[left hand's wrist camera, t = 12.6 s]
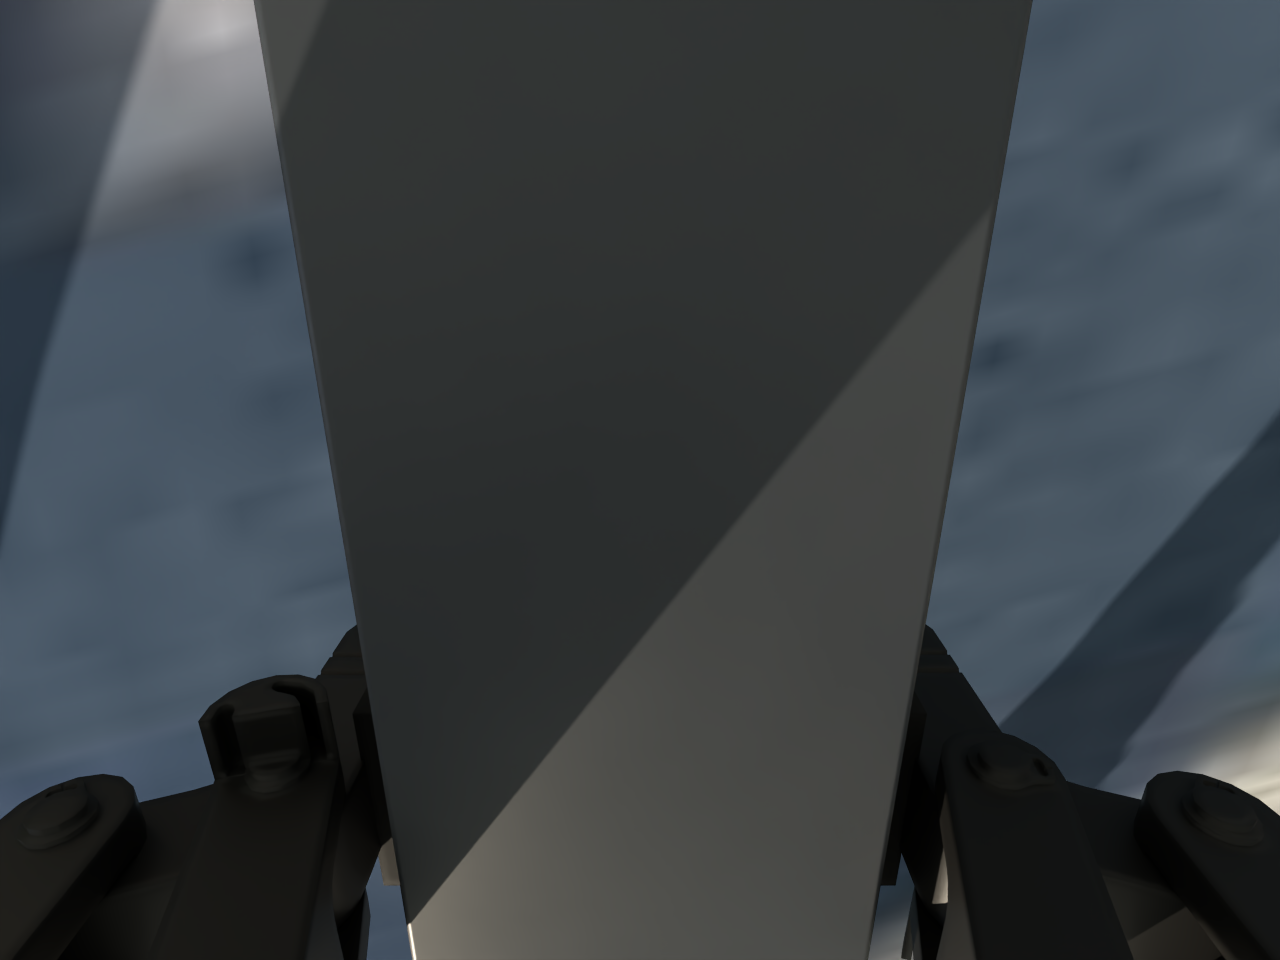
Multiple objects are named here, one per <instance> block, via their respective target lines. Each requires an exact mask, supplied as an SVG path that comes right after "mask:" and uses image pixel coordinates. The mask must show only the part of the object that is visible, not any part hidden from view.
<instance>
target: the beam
mask: <svg viewBox="0 0 1280 960" xmlns="http://www.w3.org/2000/svg"><path fill="white" fill-rule="evenodd" d="M1032 1H1033V0H254V5H255V11H256V17H257V23H258V29H259V35H260V41H261V47H262V53H263V59H264V66H265V72H266V78H267V84H268V90H269V96H270V102H271V108H272V114H273V120H274V126H275V132H276V138H277V144H278V150H279V156H280V162H281V168H282V174H283V180H284V186H285V192H286V198H287V205H288V211H289V217H290V223H291V229H292V235H293V241H294V247H295V253H296V259H297V265H298V271H299V277H300V283H301V289H302V295H303V301H304V307H305V313H306V319H307V325H308V331H309V337H310V344H311V350H312V356H313V362H314V368H315V374H316V380H317V386H318V392H319V398H320V404H321V410H322V416H323V422H324V428H325V434H326V440H327V446H328V452H329V458H330V464H331V470H332V477H333V483H334V489H335V495H336V501H337V507H338V513H339V519H340V525H341V531H342V537H343V543H344V549H345V555H346V561H347V567H348V573H349V579H350V585H351V591H352V597H353V603H354V609H355V616H356V622H357V628H358V634H359V640H360V646H361V652H362V658H363V664H364V670H365V676H366V682H367V688H368V694H369V700H370V706H371V712H372V718H373V724H374V730H375V736H376V742H377V749H378V755H379V761H380V767H381V773H382V779H383V785H384V791H385V797H386V803H387V809H388V815H389V821H390V827H391V833H392V839H393V845H394V851H395V857H396V863H397V869H398V875H399V881H400V888H401V894H402V900H403V906H404V912H405V918H406V924H407V930H408V936H409V942H410V948H411V954H412V960H868V955H869V949H870V944H871V938H872V932H873V926H874V920H875V914H876V909H877V903H878V897H879V891H880V885H881V880H882V874H883V868H884V862H885V856H886V850H887V845H888V839H889V833H890V827H891V821H892V816H893V810H894V804H895V798H896V792H897V786H898V781H899V775H900V769H901V763H902V757H903V752H904V746H905V740H906V734H907V728H908V722H909V717H910V711H911V705H912V699H913V693H914V687H915V682H916V676H917V670H918V664H919V658H920V653H921V647H922V641H923V635H924V629H925V623H926V618H927V612H928V606H929V600H930V594H931V589H932V583H933V577H934V571H935V565H936V559H937V554H938V548H939V542H940V536H941V530H942V525H943V519H944V513H945V507H946V501H947V495H948V490H949V484H950V478H951V472H952V466H953V460H954V455H955V449H956V443H957V437H958V431H959V426H960V420H961V414H962V408H963V402H964V396H965V391H966V385H967V379H968V373H969V367H970V362H971V356H972V350H973V344H974V338H975V332H976V327H977V321H978V315H979V309H980V303H981V297H982V292H983V286H984V280H985V274H986V268H987V263H988V257H989V251H990V245H991V239H992V233H993V228H994V222H995V216H996V210H997V204H998V199H999V193H1000V187H1001V181H1002V175H1003V169H1004V164H1005V158H1006V152H1007V146H1008V140H1009V135H1010V129H1011V123H1012V117H1013V111H1014V105H1015V100H1016V94H1017V88H1018V82H1019V76H1020V70H1021V65H1022V59H1023V53H1024V47H1025V41H1026V36H1027V30H1028V24H1029V18H1030V12H1031V6H1032Z"/></svg>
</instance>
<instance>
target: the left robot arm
mask: <svg viewBox="0 0 1280 960" xmlns="http://www.w3.org/2000/svg"><path fill="white" fill-rule="evenodd" d="M198 723H199V726H200V730H201V733H202V737H203V740H204V744H205V747H206V751H207V754H208V758H209V761H210V765H211V768H212V772H213V775H214V779H215V781H214V784H212V785H208V786H205V787H202V788H199V789H195V790H191V791H187V792H183V793H179V794H174V795H170V796H166V797H161V798H157V799H153V800H149V801H144V802H140V803H139V802H138V799H137V796H136V793H135V790H134V787H133V786H132V785H131V784H130V783H129V782H128V781H127V780H125V779H124V778H123V777H119V776H113V775H107V774H99V775H92V776H85V777H78V778H75V779H72V780H69V781H66V782H63V783H60V784H58V785H55V786H52V787H49V788H47V789H45V790H44V791H42V792H40V793H38V794H36V795H34V796H33V797H31V798H29V799H27V800H25V801H23V802H22V803H20V804H19V805H18V806H17V807H15V808H14V809H13V810H12V811H10V812H9V813H8V814H7V815H5V816H4V817H3V818H2V819H0V960H366V958H367V947H368V937H369V926H370V909H369V903H368V897H367V892H366V885H367V882H368V880H369V877H370V875H371V872H372V870H373V867H374V865H375V862H376V859H377V857H378V856H379V861H380V867H381V872H382V877H383V883H384V885H400V881H399V875H398V869H397V863H396V857H395V851H394V845H393V839H392V833H391V827H390V821H389V815H388V809H387V803H386V797H385V791H384V785H383V779H382V773H381V767H380V761H379V755H378V749H377V742H376V736H375V730H374V724H373V718H372V712H371V706H370V700H369V694H368V688H367V682H366V676H365V670H364V664H363V658H362V652H361V646H360V640H359V634H358V628H357V625H356V626H354V627H353V628H352V629H350V630H349V631H347V632H346V634H345V635H344V637H343V638H342V640H341V641H340V643H339V644H338V646H337V647H336V649H335V650H334V652H333V657H330V658H329V659H328V661H327V662H326V664H325V665H324V667H323V668H322V670H321V675H318V676H317V677H316V679H314V678H310V677H306V676H302V675H276V676H272V677H268V678H264V679H260V680H256V681H252V682H250V683H247V684H245V685H243V686H241V687H239V688H236V689H234V690H232V691H230V692H228V693H227V694H225V695H224V696H223V697H221V698H220V699H219V700H217V701H216V702H215V703H213V704H212V705H210V706H209V708H208V709H207V710H206V712H205V713H204V714H203V716H202V717H201V718H200V720H199V721H198ZM901 853H902V855H903V857H904V860H905V862H906V865H907V868H908V870H909V873H910V875H911V878H912V880H913V883H914V885H915V887H914V892H913V897H912V902H911V907H910V912H909V917H908V922H907V927H906V932H905V937H904V942H903V949H902V956H901V958H903V959H907V960H911V956H912V951H913V956H914V960H1280V816H1279V815H1278V814H1277V813H1276V812H1274V811H1273V810H1272V809H1271V808H1269V807H1268V806H1267V805H1266V804H1264V803H1263V802H1262V801H1260V800H1259V799H1257V798H1256V797H1254V796H1252V795H1250V794H1248V793H1246V792H1245V791H1243V790H1241V789H1239V788H1237V787H1235V786H1234V785H1232V784H1229V783H1226V782H1223V781H1221V780H1217V779H1215V778H1212V777H1209V776H1206V775H1203V774H1196V773H1189V772H1182V771H1173V772H1167V773H1160V774H1157V775H1156V776H1155V777H1154V778H1153V779H1151V780H1150V781H1149V782H1148V783H1147V785H1146V788H1145V791H1144V793H1143V796H1142V799H1141V800H1140V799H1136V798H1131V797H1127V796H1123V795H1118V794H1114V793H1110V792H1105V791H1101V790H1097V789H1092V788H1088V787H1084V786H1081V785H1078V784H1074V783H1071V782H1068V781H1066V780H1065V778H1064V776H1063V775H1062V773H1061V772H1060V770H1059V769H1058V767H1057V766H1056V764H1055V763H1054V762H1053V761H1052V760H1051V759H1050V758H1048V757H1047V756H1046V755H1045V754H1044V753H1043V752H1041V751H1040V750H1039V749H1038V748H1037V747H1035V746H1033V745H1031V744H1029V743H1027V742H1025V741H1023V740H1021V739H1019V738H1017V737H1015V736H1012V735H1008V734H1005V733H1002V732H1001V730H1000V729H999V728H998V726H997V725H996V723H995V722H994V720H993V719H992V717H991V716H990V714H989V713H988V711H987V710H986V708H985V707H984V705H983V704H982V702H981V701H980V699H979V698H978V696H977V695H976V693H975V692H974V690H973V689H972V687H971V686H970V684H969V683H968V681H967V680H966V678H965V677H964V675H963V674H962V673H959V668H958V666H957V665H956V663H955V662H954V660H953V659H952V657H951V656H950V655H947V650H946V648H945V647H944V645H943V644H942V642H941V641H940V640H939V638H938V637H937V635H936V634H935V632H934V631H933V629H931V628H930V627H929V626H927V625H926V624H925V629H924V635H923V641H922V647H921V653H920V658H919V664H918V670H917V676H916V682H915V687H914V693H913V699H912V705H911V711H910V717H909V722H908V728H907V734H906V740H905V746H904V752H903V757H902V763H901V769H900V775H899V781H898V786H897V792H896V798H895V804H894V810H893V816H892V821H891V827H890V833H889V839H888V845H887V850H886V856H885V862H884V868H883V874H882V880H881V885H896V880H897V874H898V869H899V863H900V858H901Z"/></svg>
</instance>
